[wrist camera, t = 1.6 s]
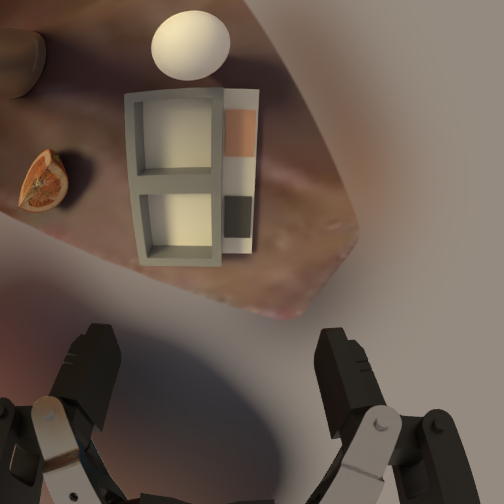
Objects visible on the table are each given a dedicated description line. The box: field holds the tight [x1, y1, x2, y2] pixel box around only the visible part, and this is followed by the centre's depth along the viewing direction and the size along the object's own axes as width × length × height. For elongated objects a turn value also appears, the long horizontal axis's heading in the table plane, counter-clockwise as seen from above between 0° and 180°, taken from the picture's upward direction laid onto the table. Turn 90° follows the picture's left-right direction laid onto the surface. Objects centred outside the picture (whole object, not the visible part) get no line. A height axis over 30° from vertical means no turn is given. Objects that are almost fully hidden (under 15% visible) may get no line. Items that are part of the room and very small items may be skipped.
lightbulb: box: [151, 11, 230, 81], centre depth 20 cm, size 6×6×11 cm
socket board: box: [124, 87, 259, 267], centre depth 29 cm, size 13×19×4 cm
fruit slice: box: [19, 149, 68, 213], centre depth 27 cm, size 8×7×5 cm
